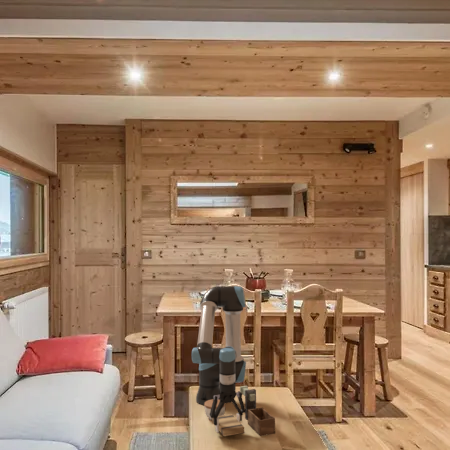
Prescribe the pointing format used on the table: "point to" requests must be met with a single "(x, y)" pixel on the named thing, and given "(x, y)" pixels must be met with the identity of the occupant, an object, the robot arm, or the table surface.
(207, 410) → the lidded jar
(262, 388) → the table surface
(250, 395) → the bolt
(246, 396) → the keeper
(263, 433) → the open wooden box
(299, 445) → the table surface
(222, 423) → the lid
